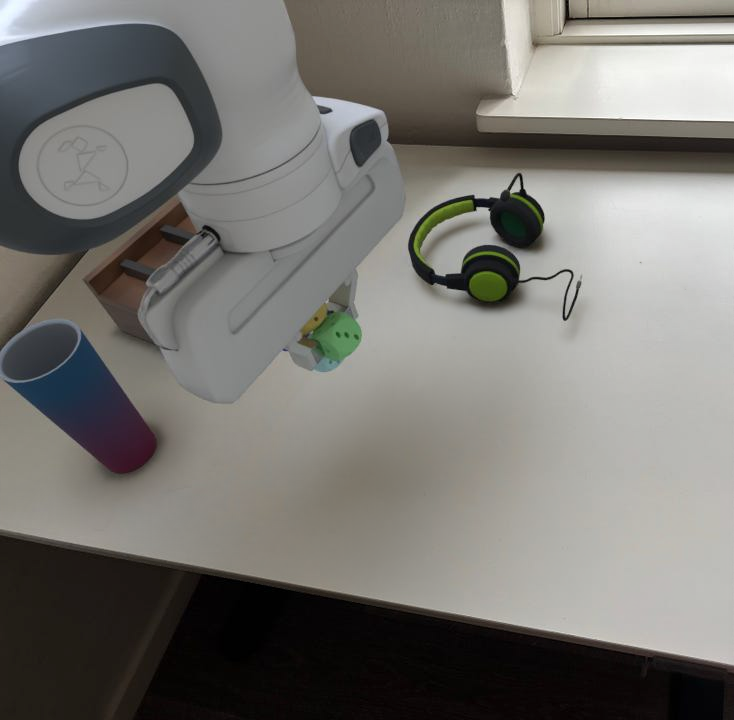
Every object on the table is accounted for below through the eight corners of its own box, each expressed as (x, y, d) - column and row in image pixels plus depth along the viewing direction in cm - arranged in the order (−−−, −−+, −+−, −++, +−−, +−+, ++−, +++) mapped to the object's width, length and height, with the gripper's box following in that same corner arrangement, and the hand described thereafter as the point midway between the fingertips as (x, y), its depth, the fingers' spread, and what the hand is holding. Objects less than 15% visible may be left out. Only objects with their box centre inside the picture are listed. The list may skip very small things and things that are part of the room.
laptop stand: (184, 356, 76) (148, 304, 70) (120, 331, 80) (81, 279, 74) (266, 271, 84) (240, 217, 78) (204, 252, 88) (175, 198, 81)
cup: (137, 489, 66) (42, 389, 55) (80, 472, 68) (-24, 374, 57) (179, 429, 70) (98, 325, 58) (124, 416, 72) (35, 312, 61)
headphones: (564, 270, 63) (366, 238, 70) (567, 342, 71) (388, 307, 77) (608, 164, 73) (430, 145, 79) (607, 238, 80) (444, 214, 86)
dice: (276, 357, 55) (240, 296, 50) (297, 334, 56) (264, 272, 51) (358, 385, 51) (326, 321, 46) (378, 359, 52) (350, 295, 48)
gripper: (169, 318, 34) (269, 470, 45) (400, 98, 45) (437, 263, 55) (83, 284, 37) (197, 436, 47) (321, 83, 47) (371, 244, 58)
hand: (328, 341), depth 51 cm, fingers closed on dice, 3 cm apart
